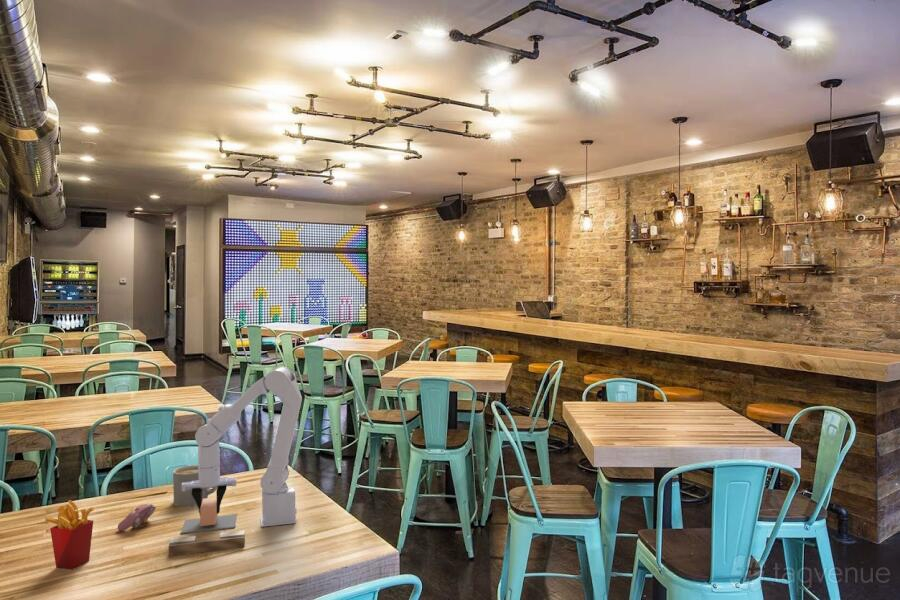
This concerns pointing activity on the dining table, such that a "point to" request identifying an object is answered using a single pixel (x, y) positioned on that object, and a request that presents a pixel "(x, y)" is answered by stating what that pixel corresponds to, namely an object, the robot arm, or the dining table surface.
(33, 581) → the dining table surface
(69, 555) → the french fries
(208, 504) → the salmon pillar
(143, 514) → the video game controller
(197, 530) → the slate pad
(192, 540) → the brown u-shaped block
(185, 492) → the coffee mug
